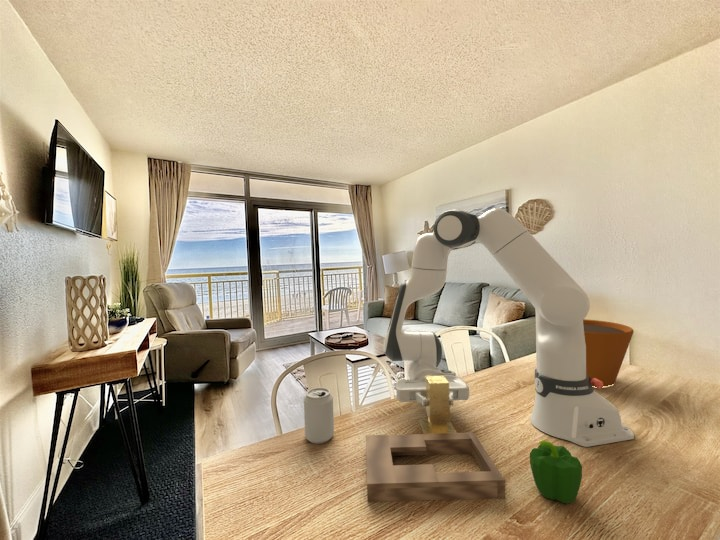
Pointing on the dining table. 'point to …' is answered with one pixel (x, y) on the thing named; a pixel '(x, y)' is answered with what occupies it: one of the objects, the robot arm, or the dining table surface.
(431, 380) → the brass peg
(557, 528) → the dining table surface
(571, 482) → the bell pepper
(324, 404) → the can
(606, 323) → the flower pot
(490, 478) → the walnut keyhole plate
